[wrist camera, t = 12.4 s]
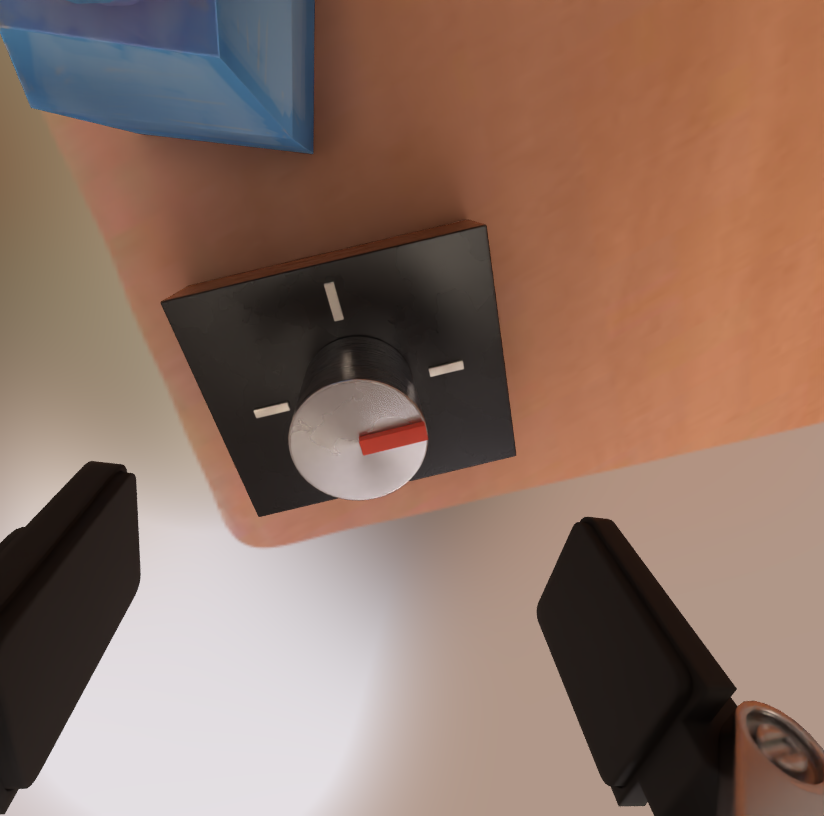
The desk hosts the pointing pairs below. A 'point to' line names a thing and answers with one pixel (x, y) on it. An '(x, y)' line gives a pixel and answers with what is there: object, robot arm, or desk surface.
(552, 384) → the desk surface
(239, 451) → the panel
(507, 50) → the desk surface
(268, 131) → the perfume bottle
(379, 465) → the knob
